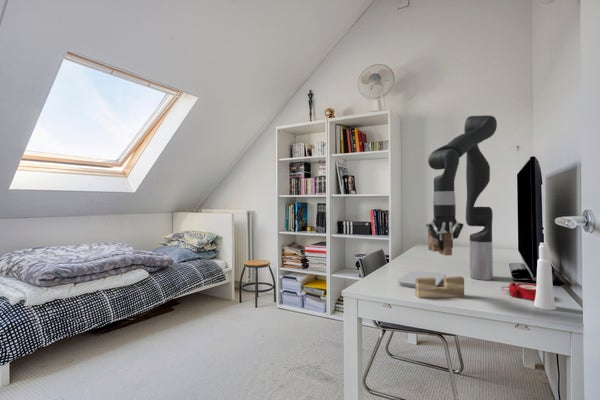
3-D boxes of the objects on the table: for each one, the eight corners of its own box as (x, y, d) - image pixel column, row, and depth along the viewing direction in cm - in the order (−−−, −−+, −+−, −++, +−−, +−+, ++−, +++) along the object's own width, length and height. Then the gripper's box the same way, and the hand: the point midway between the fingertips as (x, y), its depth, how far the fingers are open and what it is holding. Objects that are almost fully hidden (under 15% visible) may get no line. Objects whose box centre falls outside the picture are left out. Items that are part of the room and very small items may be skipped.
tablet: (446, 278, 153) (446, 273, 153) (435, 292, 131) (435, 286, 131) (411, 274, 162) (411, 269, 162) (395, 286, 140) (395, 281, 140)
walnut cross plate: (428, 249, 131) (428, 229, 131) (434, 249, 131) (434, 229, 131) (445, 255, 117) (444, 233, 117) (452, 255, 117) (451, 233, 117)
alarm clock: (553, 293, 114) (504, 279, 122) (548, 309, 115) (500, 294, 123) (550, 286, 123) (504, 273, 131) (545, 301, 123) (500, 287, 131)
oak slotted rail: (415, 295, 126) (415, 277, 126) (460, 294, 126) (460, 276, 126) (418, 297, 123) (417, 279, 123) (464, 296, 124) (464, 278, 124)
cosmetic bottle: (540, 309, 108) (539, 244, 107) (530, 304, 113) (529, 241, 113) (560, 310, 107) (559, 244, 106) (549, 304, 113) (548, 241, 112)
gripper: (430, 204, 116) (431, 252, 116) (468, 203, 116) (469, 251, 116) (421, 203, 123) (422, 249, 123) (457, 203, 124) (458, 248, 124)
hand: (445, 249), depth 120 cm, fingers closed on walnut cross plate, 2 cm apart
